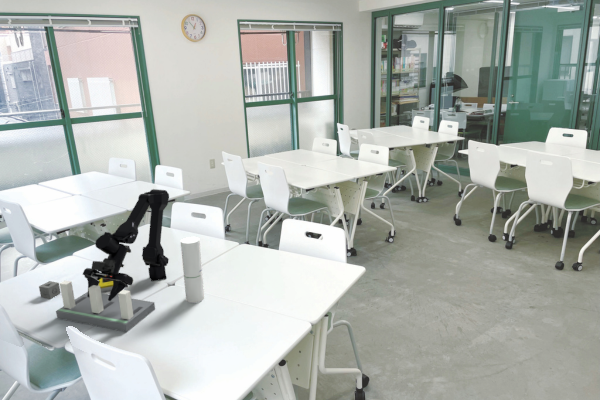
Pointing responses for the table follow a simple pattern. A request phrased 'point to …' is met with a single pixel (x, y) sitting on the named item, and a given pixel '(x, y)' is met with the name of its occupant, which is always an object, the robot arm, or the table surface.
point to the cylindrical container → (192, 269)
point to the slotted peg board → (116, 312)
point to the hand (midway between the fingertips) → (98, 298)
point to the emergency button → (106, 285)
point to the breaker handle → (96, 299)
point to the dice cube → (49, 290)
